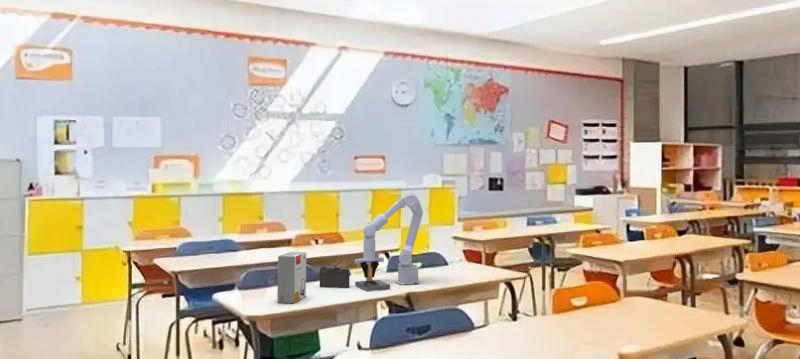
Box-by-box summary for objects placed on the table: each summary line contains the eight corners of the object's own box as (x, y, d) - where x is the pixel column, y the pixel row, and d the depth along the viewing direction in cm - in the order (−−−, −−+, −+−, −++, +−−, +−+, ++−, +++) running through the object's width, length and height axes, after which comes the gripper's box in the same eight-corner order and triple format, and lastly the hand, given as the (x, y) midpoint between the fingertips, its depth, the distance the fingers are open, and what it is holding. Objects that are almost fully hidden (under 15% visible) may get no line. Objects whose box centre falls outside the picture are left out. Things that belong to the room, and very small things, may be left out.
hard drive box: (294, 304, 288) (294, 256, 288) (277, 303, 290) (276, 256, 289) (306, 296, 304) (306, 251, 303) (290, 295, 305) (290, 251, 304)
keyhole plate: (378, 284, 333) (378, 279, 333) (390, 289, 320) (390, 284, 320) (355, 286, 328) (355, 281, 328) (366, 291, 315) (366, 286, 315)
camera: (352, 284, 333) (352, 263, 333) (348, 288, 323) (348, 267, 322) (323, 283, 335) (323, 263, 335) (318, 287, 324) (318, 266, 324)
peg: (371, 282, 338) (371, 266, 338) (373, 283, 335) (373, 267, 335) (365, 282, 337) (365, 266, 336) (367, 283, 334) (367, 267, 334)
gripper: (379, 247, 342) (379, 274, 342) (352, 249, 336) (352, 276, 336) (385, 249, 336) (385, 277, 336) (357, 251, 330) (357, 279, 330)
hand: (369, 277), depth 336 cm, fingers closed on peg, 3 cm apart
